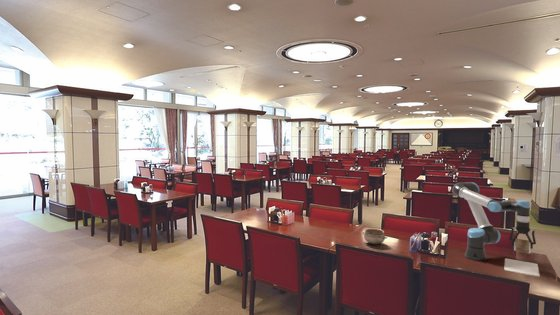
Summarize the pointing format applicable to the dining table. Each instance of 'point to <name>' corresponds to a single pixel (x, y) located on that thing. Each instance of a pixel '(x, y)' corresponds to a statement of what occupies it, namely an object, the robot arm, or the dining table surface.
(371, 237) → the cooking pot
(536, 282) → the dining table surface
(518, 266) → the cream white flat board
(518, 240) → the walnut plaque
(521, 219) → the robot arm
